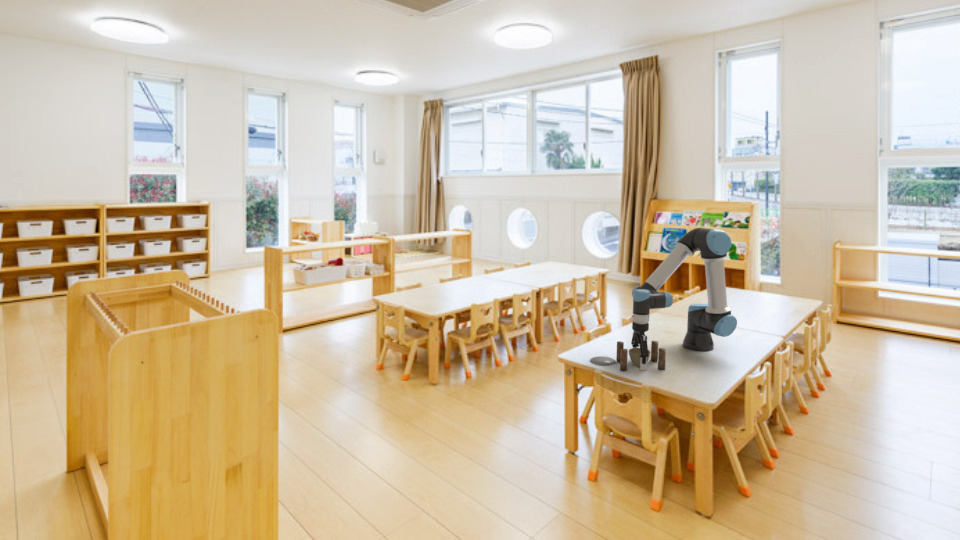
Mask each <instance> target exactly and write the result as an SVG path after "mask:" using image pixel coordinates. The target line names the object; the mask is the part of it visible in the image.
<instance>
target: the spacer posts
mask: <svg viewBox="0 0 960 540" xmlns="http://www.w3.org/2000/svg"><path fill="white" fill-rule="evenodd" d="M624 343H625V342H624V341H616V360H615V361H616V362H615V363H618V364H619V370H620V372H621V371H622V372H627V371H628V355H629V349H627V348H624V346H625V345H624ZM666 355H667V349H666V348H665V347H659V341H658V340H651V347H650V362H651V361H652V362H651V363H657V370H658V369H659V370H658V371H662V370H663V371H665V370H666V362H667V361H666V357H667V356H666ZM657 361H658V362H657Z"/></svg>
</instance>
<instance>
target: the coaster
mask: <svg viewBox="0 0 960 540" xmlns="http://www.w3.org/2000/svg"><path fill="white" fill-rule="evenodd" d="M590 362H591V363H592V364H593V363H594V365H596V364H597V366H603V367H605V366H607V367H609V366H614V365H615V364H616V363H617V362H616V360H615V359H614V358H612V357H608V356H594V357H591V358H590Z"/></svg>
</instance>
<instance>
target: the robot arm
mask: <svg viewBox="0 0 960 540" xmlns="http://www.w3.org/2000/svg"><path fill="white" fill-rule="evenodd" d="M731 247H732V238H731V237H730V235H729V233H727V232H726V231H724V230H721V229H718V228H707V227H700V226H699V227H696V228H693V229H691V230H689V231H687V232H686V233H685V234H684V235H683V236H682V237H680V239H678V241H677V242H676V243H675V247H674V248H673V250H671V252H670V253H669V254H668V255H667V256H666V257H665V258H664V260H662V262H661V263H660V264H659V265H658V267H656V268H655V270H654V271H653V272H652V273H651V274H650V275H649V277H648V278H646V279H645V280H644V282H643V283H642V284H641V285H636V286H634V287H633V289H632V292H631V296H632V315H631V318H632V323H631V328H632V330H633V332H632V338H631V341H630V344H631V347H632V348H640V352H641V356H640V367H639V370H640V371H647V363H646V360H647V357H648V350H649V347H648V336H647V335H646V334H645V333H646V332H648V331H649V330H650V329H649V328H650V326H649V325H650V323H649V322H650V312H651V311H650V310H655V309H656V310H657V309H665V308H666V309H667V308H671V307H672V305H673V303H674V298H673V295H672V294H671V293H670V291H662V292H661V291H659V290H660V288H661V287H662V286H663V285H665V283H666V282H667V281H668V279H670V277H672V275H673V274H674V273H675V272H676V271H677V269H678V268H679V267H680V266H681V265H682V264H683V263H684V262H685V261H686V259H687V258H688V257H692V256H693V255H694V253H696V252H700V258H701V259H702V260H703V261H704V269H705V281H706V284H705V285H706V294H707V295H706V296H707V303H692V304H690V305H689V306H688V309H687V324H686V325H687V326H686V328H687V329H686V333H685V336H684V338H683V341H682V346H683V347H684V348H686V349H689V350H693V351H699V352H700V351H701V352H702V351H703V352H704V351H706V352H707V351H712V350H713V349H714V348H715V343H714V340H713V336H712V334H714V335H715V336H719V337H723V338H725V337H729V336H731V335H732V334H733V333H734V331H736V328H737V325H738V320H737V318H736V316H734V314H732V308H731V307H730V306H729V305H728V300H727V286H726V274H725V273H726V271H725V258H726V257H727V254H728V252H730V249H731ZM644 354H645V355H644Z"/></svg>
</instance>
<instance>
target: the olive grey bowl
mask: <svg viewBox="0 0 960 540" xmlns="http://www.w3.org/2000/svg"><path fill="white" fill-rule="evenodd" d="M628 355H629V359H630V361H631V363H632V365H633V366H634V367H635V368H636V367H637V368H640V356H641V352H640V347H638V348H633V347H632V348H630V349H628ZM644 355H645V354H644ZM650 358H651V350H649V349H648V357H647V360H646V364H648V362H649V359H650Z"/></svg>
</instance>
